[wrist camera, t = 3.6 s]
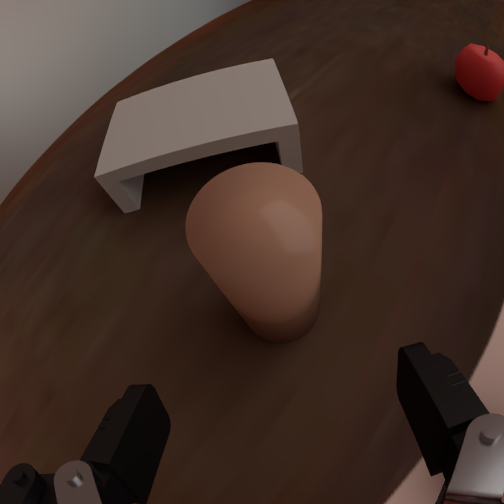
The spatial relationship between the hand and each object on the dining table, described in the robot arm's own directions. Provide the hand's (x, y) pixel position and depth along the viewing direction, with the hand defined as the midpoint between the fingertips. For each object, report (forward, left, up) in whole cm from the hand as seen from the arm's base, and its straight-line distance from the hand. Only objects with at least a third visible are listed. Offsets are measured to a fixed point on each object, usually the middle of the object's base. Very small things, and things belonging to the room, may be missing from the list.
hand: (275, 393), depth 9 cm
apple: (+32, +30, -12) cm, 46 cm away
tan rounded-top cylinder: (0, +7, -12) cm, 14 cm away
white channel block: (-5, +25, -12) cm, 28 cm away
